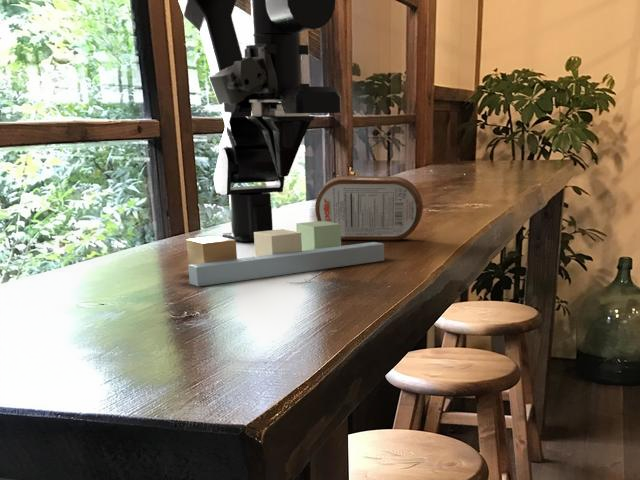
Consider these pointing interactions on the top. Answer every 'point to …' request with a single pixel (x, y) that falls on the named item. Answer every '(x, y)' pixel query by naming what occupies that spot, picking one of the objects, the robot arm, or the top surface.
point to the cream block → (277, 242)
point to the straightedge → (284, 263)
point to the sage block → (319, 234)
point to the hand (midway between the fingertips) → (283, 176)
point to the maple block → (210, 249)
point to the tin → (370, 207)
